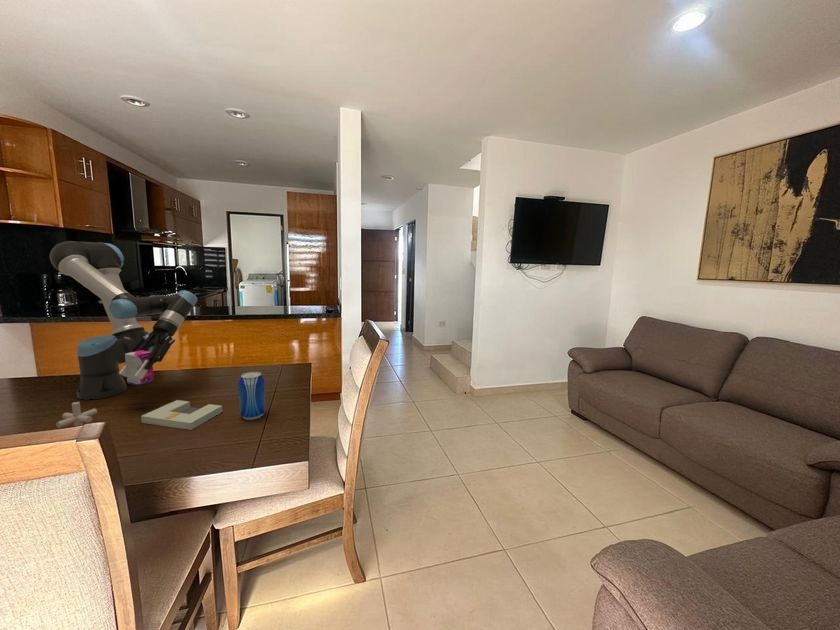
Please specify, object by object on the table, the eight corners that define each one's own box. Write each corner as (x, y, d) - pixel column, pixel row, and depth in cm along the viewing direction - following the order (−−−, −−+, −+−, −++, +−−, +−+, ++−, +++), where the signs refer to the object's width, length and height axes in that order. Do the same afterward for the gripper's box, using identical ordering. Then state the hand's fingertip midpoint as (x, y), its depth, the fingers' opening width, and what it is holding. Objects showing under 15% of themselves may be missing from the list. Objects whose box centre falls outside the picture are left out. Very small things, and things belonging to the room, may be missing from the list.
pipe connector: (72, 442, 103) (68, 411, 102) (48, 437, 105) (43, 407, 104) (108, 426, 113) (105, 398, 112) (85, 422, 115) (81, 395, 113)
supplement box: (138, 385, 122) (134, 355, 120) (127, 383, 124) (123, 353, 122) (155, 380, 127) (152, 351, 126) (144, 378, 129) (140, 349, 127)
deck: (177, 406, 130) (177, 399, 130) (222, 412, 126) (222, 405, 126) (141, 422, 116) (140, 415, 116) (191, 430, 113) (190, 422, 112)
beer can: (241, 412, 127) (239, 372, 124) (265, 409, 130) (264, 369, 127) (239, 422, 119) (236, 379, 116) (265, 419, 122) (263, 377, 120)
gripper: (194, 331, 136) (160, 383, 123) (155, 327, 139) (117, 377, 126) (182, 320, 130) (144, 374, 117) (141, 316, 133) (100, 368, 120)
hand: (130, 376), depth 122 cm, fingers closed on supplement box, 6 cm apart
